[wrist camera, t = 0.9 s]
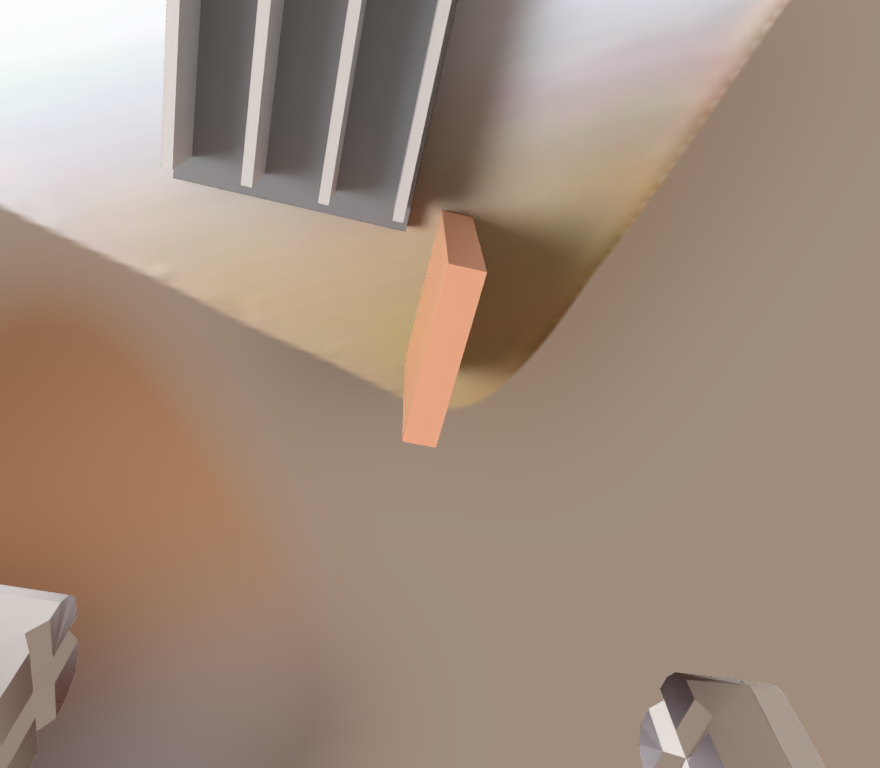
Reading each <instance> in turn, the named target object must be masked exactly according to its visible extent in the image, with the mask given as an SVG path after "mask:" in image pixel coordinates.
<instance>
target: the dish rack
mask: <svg viewBox="0 0 880 768" xmlns="http://www.w3.org/2000/svg"><path fill="white" fill-rule="evenodd" d="M456 2H457V0H167V4H166V33H165V62H164V91H163V120H162V148H161V167H165V168H169V169H174V172H173V178H175V179H179V180H184V181H188V182H192V183H197V184H201V185H205V186H210V187H214V188H218V189H223V190H227V191H231V192H236V193H240V194H244V195H249V196H253V197H257V198H262V199H266V200H270V201H275V202H279V203H283V204H288V205H292V206H296V207H301V208H305V209H309V210H314V211H318V212H322V213H327V214H331V215H335V216H340V217H344V218H348V219H353V220H357V221H361V222H366V223H370V224H374V225H379V226H383V227H387V228H392V229H396V230H400V231H405V232H406V227H407V223H408V218H409V214H410V209H411V205H412V200H413V196H414V191H415V187H416V182H417V178H418V173H419V169H420V164H421V160H422V155H423V151H424V146H425V142H426V137H427V133H428V128H429V124H430V119H431V115H432V110H433V106H434V101H435V97H436V92H437V88H438V83H439V79H440V74H441V70H442V65H443V61H444V56H445V52H446V47H447V43H448V38H449V34H450V29H451V25H452V20H453V16H454V11H455V7H456Z"/></svg>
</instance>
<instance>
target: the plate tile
mask: <svg viewBox="0 0 880 768" xmlns="http://www.w3.org/2000/svg"><path fill="white" fill-rule="evenodd" d="M486 275H487V270H486V266H485V262H484V258H483V255H482V251H481V247H480V243H479V240H478V236H477V232H476V228H475V224H474V221H473V217H469V216H464V215H460V214H456V213H452V212H448V211H443V210H442V212H441V217H440V221H439V225H438V229H437V233H436V237H435V241H434V245H433V249H432V253H431V257H430V261H429V265H428V269H427V273H426V278H425V282H424V286H423V290H422V294H421V298H420V302H419V306H418V310H417V314H416V318H415V322H414V326H413V330H412V334H411V339H410V343H409V347H408V351H407V355H406V359H405V375H404V405H403V433H402V442H408V443H413V444H419V445H424V446H430V447H436V445H437V442H438V438H439V435H440V431H441V428H442V425H443V421H444V418H445V415H446V411H447V408H448V404H449V401H450V398H451V394H452V391H453V387H454V384H455V380H456V377H457V374H458V370H459V367H460V363H461V360H462V357H463V353H464V350H465V346H466V343H467V340H468V336H469V333H470V329H471V326H472V322H473V319H474V316H475V312H476V309H477V305H478V302H479V299H480V295H481V292H482V288H483V285H484V281H485V278H486Z"/></svg>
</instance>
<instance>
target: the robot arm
mask: <svg viewBox="0 0 880 768" xmlns="http://www.w3.org/2000/svg"><path fill="white" fill-rule="evenodd" d="M76 617H77V610H76V599H75V597H73V596H70V595H64V594H58V593H52V592H45V591H38V590H32V589H25V588H19V587H13V586H7V585H0V768H30V766H31V764H32V763H33V761H34V759H35V757H36V755H37V753H38V744H37V731H38V730H39V729H40V728H42V727H43V726H45V725H46V724H48V723H49V722H51V721H52V720H53V719H55V718H56V717H57V715H58V713H59V711H60V709H61V707H62V705H63V703H64V701H65V699H66V697H67V695H68V692H69V689H70V686H71V684H72V681H73V678H74V675H75V672H76V666H77V659H78V640H77V639H76V638H75V637H74V636H73V635H72V633H71V632H70V631H69V629H70V627H71V626H72V624H73V622H74V620H75V619H76ZM660 690H661V693H662V695H663V698H664V700H663V701H662V702H660V703H658V704H656V705H655V706H653V707H651V708H650V709H649V710H648V712H647V713H646V716H645V718H644V720H643V722H642V724H641V730H640V740H639V748H640V756H641V762H642V766H643V768H826V767H825V765H824V763H823V761H822V760H821V758H820V756H819V754H818V753H817V751H816V749H815V747H814V746H813V744H812V742H811V740H810V738H809V737H808V735H807V733H806V731H805V730H804V728H803V726H802V724H801V723H800V721H799V719H798V717H797V716H796V714H795V712H794V711H793V709H792V707H791V706H790V703H789V702H788V700H787V698H786V696H785V695H784V694H783V692H782V691H781V690H780V689H779V688H778V687H776V686H775V685H774V684H767V683H759V682H751V681H743V680H739V681H738V680H736V679H731V678H722V677H712V676H703V675H696V674H687V673H678V672H675V673H673V674H671V675H669V676H668V677H667V678H666V680H665V681H664V683H663V685H662V686H661V688H660Z"/></svg>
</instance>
